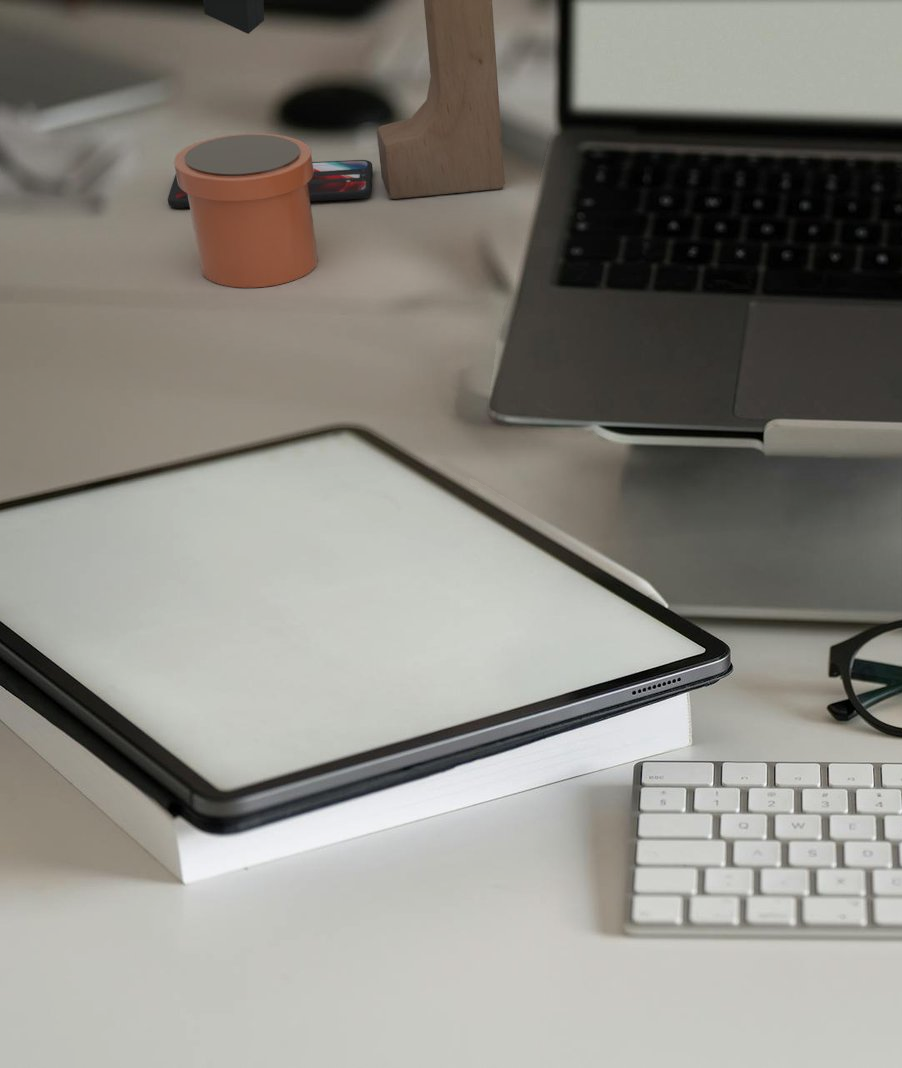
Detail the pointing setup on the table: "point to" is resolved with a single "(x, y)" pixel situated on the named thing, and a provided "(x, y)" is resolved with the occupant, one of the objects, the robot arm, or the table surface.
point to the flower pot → (250, 208)
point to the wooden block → (450, 110)
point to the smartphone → (316, 182)
